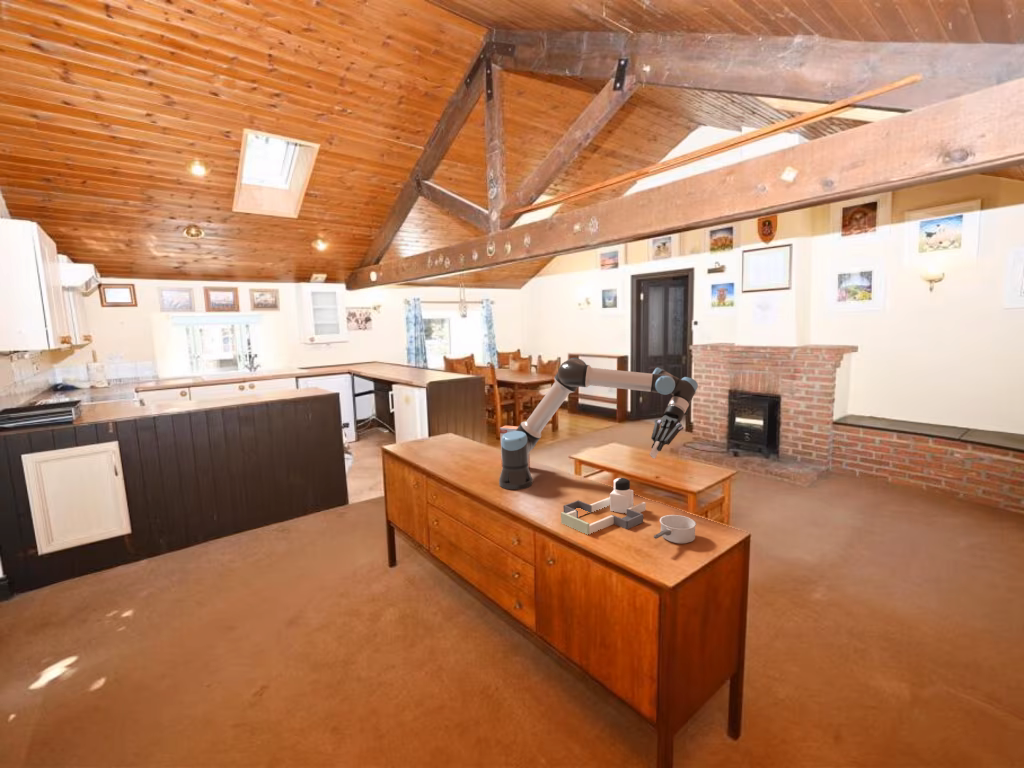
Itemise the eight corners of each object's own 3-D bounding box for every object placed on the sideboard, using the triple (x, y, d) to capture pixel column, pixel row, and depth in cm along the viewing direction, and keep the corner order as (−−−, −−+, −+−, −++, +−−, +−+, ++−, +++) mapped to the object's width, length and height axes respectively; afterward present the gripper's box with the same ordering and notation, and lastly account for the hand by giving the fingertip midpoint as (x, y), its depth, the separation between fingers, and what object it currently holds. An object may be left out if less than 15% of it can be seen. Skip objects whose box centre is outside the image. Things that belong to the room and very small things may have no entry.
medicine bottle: (633, 507, 178) (633, 477, 177) (628, 514, 172) (628, 483, 171) (615, 504, 182) (615, 475, 180) (609, 511, 176) (609, 481, 174)
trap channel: (607, 496, 190) (607, 489, 190) (659, 514, 171) (659, 507, 170) (551, 517, 172) (551, 509, 172) (602, 540, 152) (602, 531, 152)
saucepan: (639, 547, 147) (638, 530, 146) (670, 527, 160) (670, 512, 160) (672, 559, 139) (672, 542, 138) (702, 537, 152) (702, 521, 151)
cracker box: (530, 467, 235) (529, 426, 232) (524, 470, 230) (523, 429, 227) (507, 463, 242) (505, 424, 239) (501, 466, 237) (499, 427, 234)
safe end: (563, 522, 167) (562, 511, 167) (589, 534, 157) (589, 523, 156) (561, 523, 167) (560, 512, 166) (587, 535, 156) (587, 524, 156)
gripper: (693, 417, 190) (670, 464, 182) (666, 413, 200) (643, 458, 193) (686, 406, 186) (662, 454, 178) (658, 403, 197) (634, 448, 189)
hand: (652, 456), depth 185 cm, fingers closed
